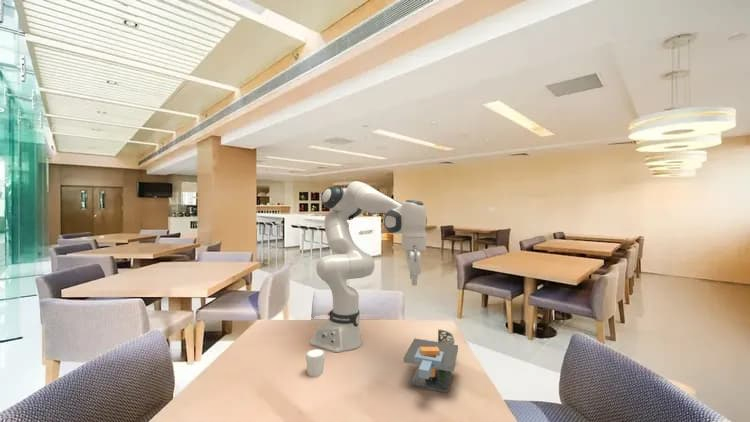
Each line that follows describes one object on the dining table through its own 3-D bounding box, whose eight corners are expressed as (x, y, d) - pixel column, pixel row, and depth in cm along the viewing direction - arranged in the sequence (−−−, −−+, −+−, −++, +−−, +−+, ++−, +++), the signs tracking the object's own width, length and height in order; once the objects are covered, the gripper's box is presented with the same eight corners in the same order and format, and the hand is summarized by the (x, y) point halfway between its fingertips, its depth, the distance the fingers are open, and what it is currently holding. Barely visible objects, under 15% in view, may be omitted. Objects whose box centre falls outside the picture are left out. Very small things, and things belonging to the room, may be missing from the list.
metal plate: (403, 387, 101) (403, 357, 101) (414, 364, 116) (414, 338, 116) (453, 398, 96) (453, 366, 96) (457, 372, 111) (458, 345, 111)
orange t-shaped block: (421, 376, 100) (421, 350, 100) (419, 372, 103) (419, 346, 103) (439, 376, 100) (439, 350, 100) (437, 371, 103) (437, 346, 103)
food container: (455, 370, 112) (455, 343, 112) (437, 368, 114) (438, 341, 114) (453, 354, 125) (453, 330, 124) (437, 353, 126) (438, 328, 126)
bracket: (409, 375, 93) (409, 365, 93) (418, 356, 105) (418, 347, 105) (437, 381, 90) (437, 370, 90) (443, 360, 102) (443, 351, 102)
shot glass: (328, 369, 112) (328, 350, 112) (319, 379, 106) (319, 358, 106) (311, 365, 115) (312, 347, 115) (301, 375, 108) (301, 355, 108)
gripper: (425, 248, 102) (424, 289, 102) (420, 241, 123) (419, 276, 123) (406, 247, 103) (405, 289, 103) (404, 241, 123) (403, 275, 123)
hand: (413, 281), depth 113 cm, fingers open, 8 cm apart
